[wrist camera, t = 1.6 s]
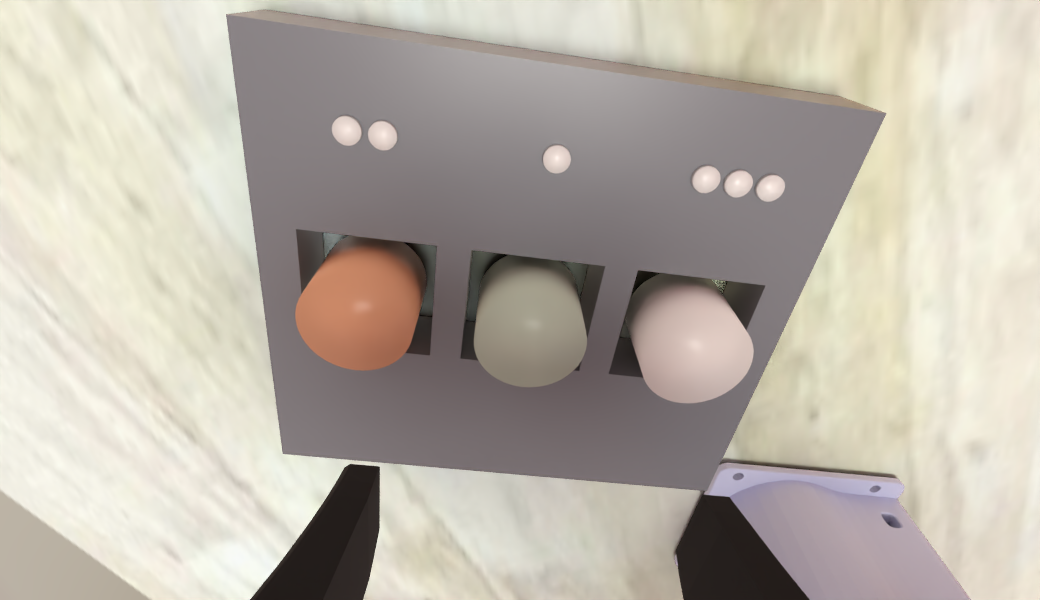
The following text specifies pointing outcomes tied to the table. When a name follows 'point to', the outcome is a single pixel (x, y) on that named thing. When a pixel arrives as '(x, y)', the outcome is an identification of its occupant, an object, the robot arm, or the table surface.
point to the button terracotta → (363, 303)
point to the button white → (687, 338)
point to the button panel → (526, 231)
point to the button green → (529, 322)
